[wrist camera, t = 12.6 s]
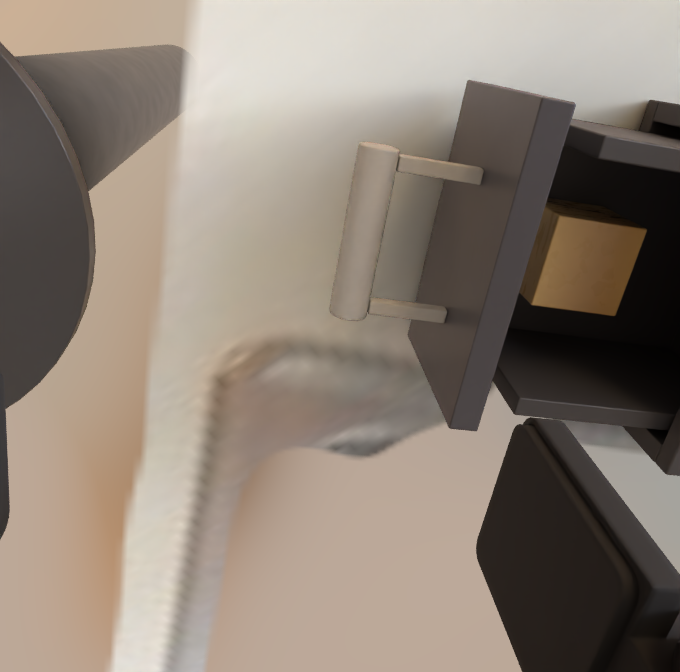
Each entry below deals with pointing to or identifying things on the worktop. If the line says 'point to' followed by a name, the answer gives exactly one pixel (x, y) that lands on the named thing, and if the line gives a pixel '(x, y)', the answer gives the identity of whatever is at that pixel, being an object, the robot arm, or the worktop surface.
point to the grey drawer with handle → (512, 258)
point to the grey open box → (676, 444)
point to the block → (581, 258)
